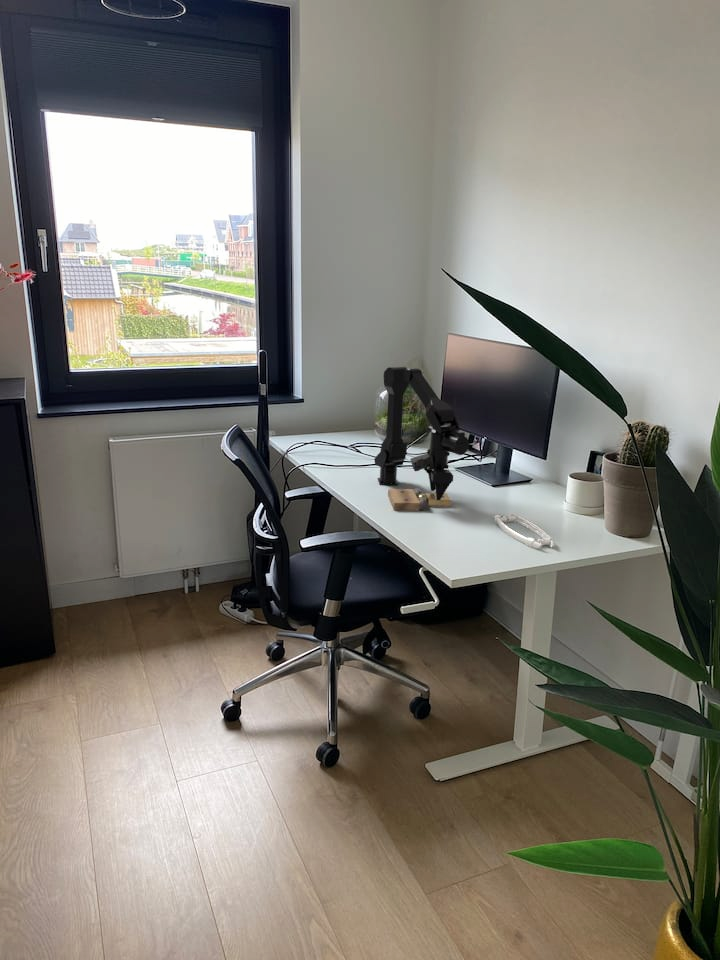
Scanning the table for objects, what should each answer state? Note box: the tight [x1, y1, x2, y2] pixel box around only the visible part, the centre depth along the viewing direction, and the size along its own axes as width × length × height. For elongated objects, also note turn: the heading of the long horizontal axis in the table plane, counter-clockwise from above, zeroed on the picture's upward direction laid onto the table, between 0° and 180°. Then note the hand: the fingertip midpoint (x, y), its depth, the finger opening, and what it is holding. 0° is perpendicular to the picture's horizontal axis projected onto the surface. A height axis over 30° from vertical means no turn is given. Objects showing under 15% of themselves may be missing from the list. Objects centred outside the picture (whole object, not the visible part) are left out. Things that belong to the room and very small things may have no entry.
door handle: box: [493, 513, 556, 550], centre depth 206 cm, size 3×10×25 cm
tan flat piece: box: [387, 487, 429, 511], centre depth 228 cm, size 11×14×3 cm
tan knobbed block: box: [417, 492, 452, 507], centre depth 229 cm, size 10×6×3 cm, turn 95°
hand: (435, 495), depth 228 cm, fingers open, 9 cm apart
